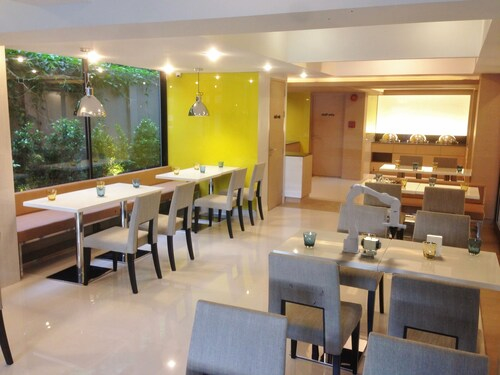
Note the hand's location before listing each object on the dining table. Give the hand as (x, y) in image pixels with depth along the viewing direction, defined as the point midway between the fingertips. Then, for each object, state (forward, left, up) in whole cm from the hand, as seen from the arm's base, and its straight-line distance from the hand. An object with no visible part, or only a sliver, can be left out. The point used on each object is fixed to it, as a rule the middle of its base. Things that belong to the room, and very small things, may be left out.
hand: (393, 238), depth 286 cm
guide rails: (-13, -10, -10) cm, 19 cm away
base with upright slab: (+24, +12, -11) cm, 29 cm away
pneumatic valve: (-12, -10, -11) cm, 19 cm away
